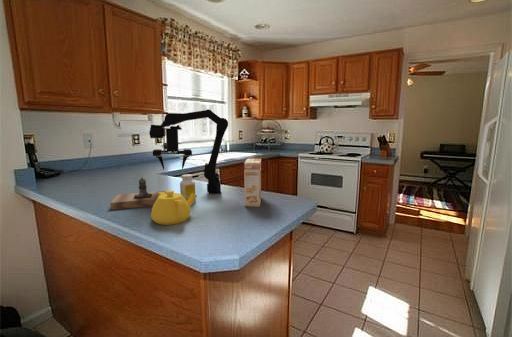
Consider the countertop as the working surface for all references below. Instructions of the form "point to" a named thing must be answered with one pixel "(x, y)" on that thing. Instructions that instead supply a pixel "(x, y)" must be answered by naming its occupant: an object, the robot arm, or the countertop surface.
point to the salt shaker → (142, 189)
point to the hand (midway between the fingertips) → (173, 169)
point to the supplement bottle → (187, 186)
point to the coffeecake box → (252, 182)
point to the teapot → (171, 208)
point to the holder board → (133, 200)
